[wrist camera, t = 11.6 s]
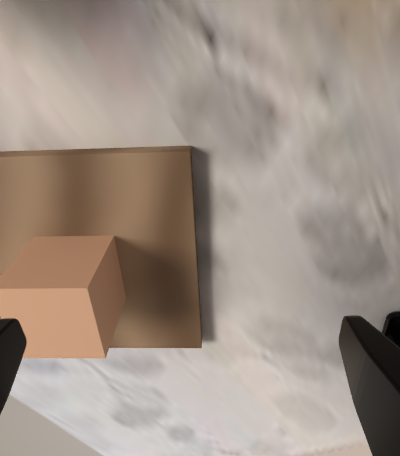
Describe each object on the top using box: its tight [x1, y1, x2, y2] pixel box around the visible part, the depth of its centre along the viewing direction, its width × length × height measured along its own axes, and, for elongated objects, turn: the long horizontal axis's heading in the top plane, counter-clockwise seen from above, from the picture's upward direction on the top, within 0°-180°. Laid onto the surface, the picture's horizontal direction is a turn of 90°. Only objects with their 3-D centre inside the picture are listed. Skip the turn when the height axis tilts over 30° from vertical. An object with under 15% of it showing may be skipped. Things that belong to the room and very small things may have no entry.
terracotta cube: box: [0, 236, 126, 358], centre depth 20 cm, size 5×5×5 cm
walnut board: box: [0, 146, 202, 348], centre depth 23 cm, size 15×15×1 cm
